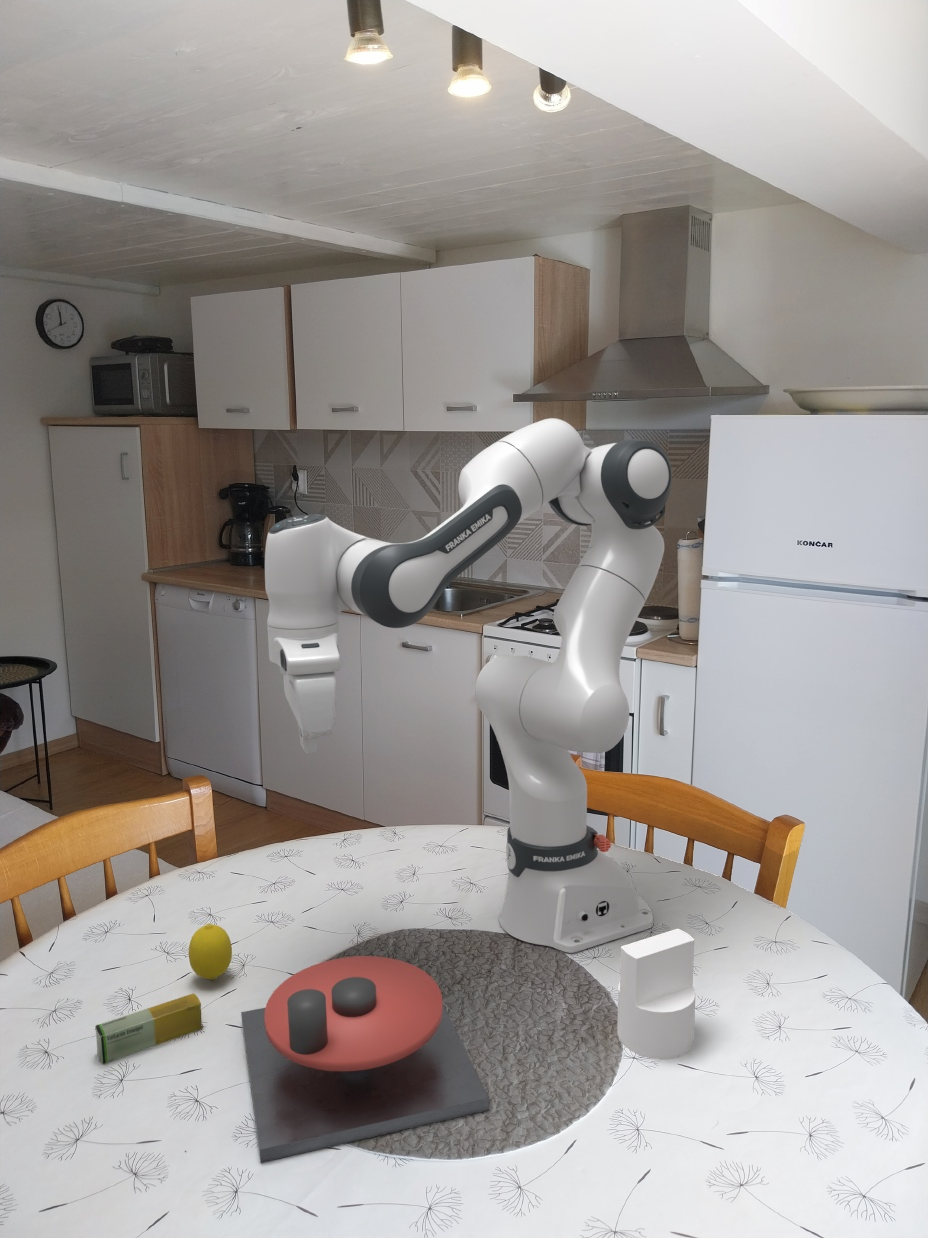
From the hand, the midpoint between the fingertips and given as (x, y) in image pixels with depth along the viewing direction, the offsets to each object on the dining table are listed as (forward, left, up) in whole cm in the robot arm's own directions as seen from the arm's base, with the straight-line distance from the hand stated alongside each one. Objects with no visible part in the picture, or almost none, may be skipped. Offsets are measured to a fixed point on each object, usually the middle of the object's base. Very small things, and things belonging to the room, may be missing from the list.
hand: (309, 749), depth 123 cm
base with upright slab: (-36, +27, -31) cm, 55 cm away
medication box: (+22, +9, -32) cm, 39 cm away
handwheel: (-1, +21, -25) cm, 32 cm away
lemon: (+14, -2, -31) cm, 34 cm away
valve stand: (-1, +21, -31) cm, 37 cm away
